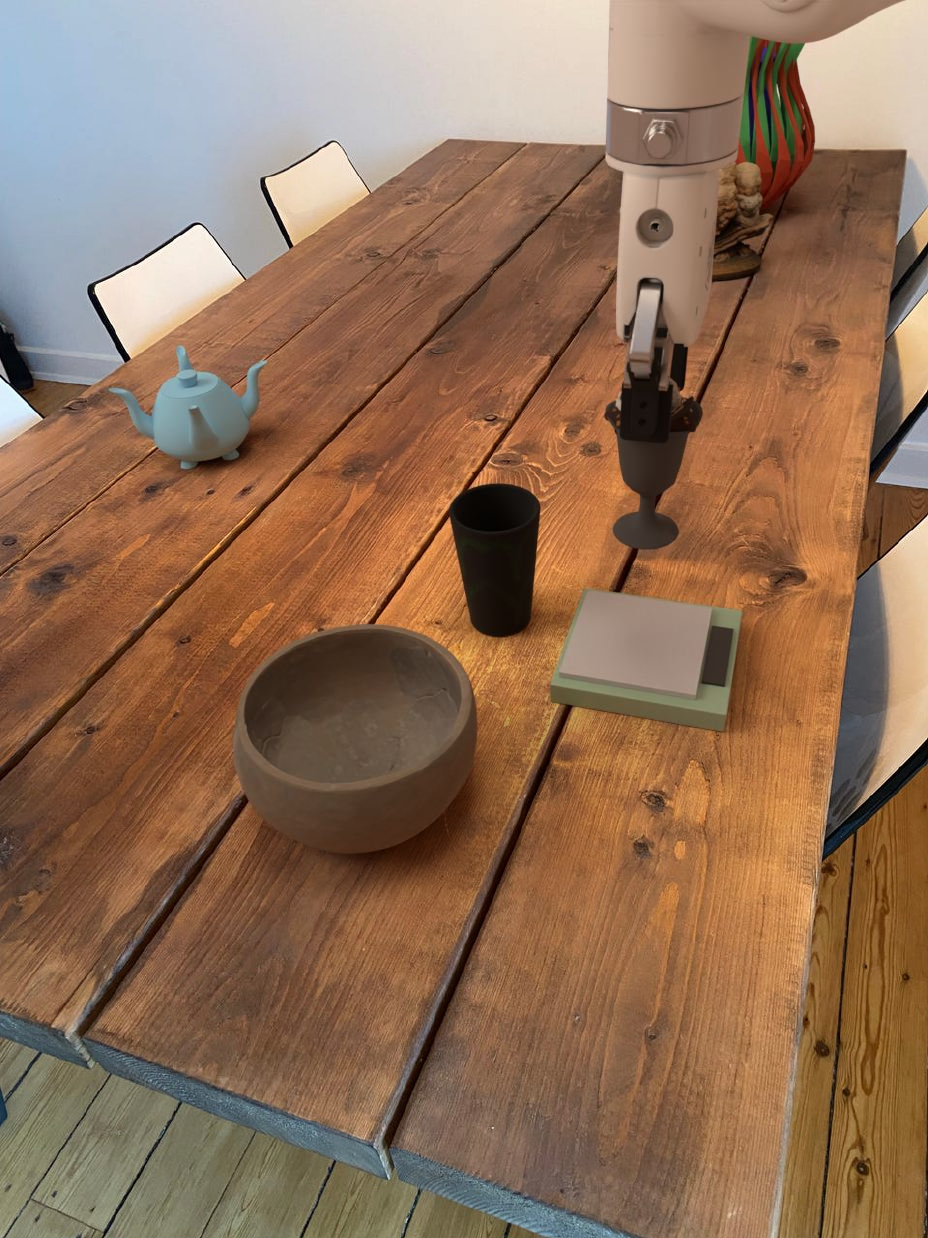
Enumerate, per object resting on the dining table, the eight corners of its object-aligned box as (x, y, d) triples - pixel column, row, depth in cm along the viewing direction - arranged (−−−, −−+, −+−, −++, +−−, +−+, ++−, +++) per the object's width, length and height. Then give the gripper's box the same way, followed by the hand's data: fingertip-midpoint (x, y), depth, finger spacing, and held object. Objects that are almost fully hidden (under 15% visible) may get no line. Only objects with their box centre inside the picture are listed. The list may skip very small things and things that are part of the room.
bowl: (476, 699, 79) (468, 606, 72) (490, 880, 65) (482, 786, 59) (270, 715, 79) (244, 624, 73) (241, 900, 65) (206, 808, 59)
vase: (789, 180, 179) (816, -9, 160) (819, 233, 156) (855, 20, 137) (627, 186, 183) (635, 2, 163) (633, 240, 160) (643, 33, 140)
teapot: (131, 465, 113) (104, 387, 106) (203, 415, 121) (182, 340, 115) (215, 487, 108) (192, 407, 101) (284, 433, 116) (267, 355, 110)
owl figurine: (758, 251, 152) (773, 135, 141) (774, 278, 143) (791, 157, 132) (645, 257, 153) (651, 143, 142) (653, 285, 144) (661, 165, 133)
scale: (740, 627, 83) (743, 604, 82) (724, 732, 74) (727, 709, 73) (583, 604, 87) (584, 582, 86) (550, 701, 78) (549, 679, 76)
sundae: (597, 508, 75) (602, 325, 65) (683, 505, 74) (701, 320, 65) (603, 558, 70) (609, 368, 60) (695, 555, 69) (717, 363, 60)
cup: (550, 596, 89) (549, 487, 81) (531, 650, 83) (528, 538, 75) (471, 586, 90) (463, 478, 83) (448, 638, 85) (436, 527, 77)
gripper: (723, 176, 47) (691, 485, 58) (753, 94, 59) (722, 362, 71) (574, 173, 49) (572, 472, 60) (633, 95, 61) (622, 355, 73)
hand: (653, 410), depth 65 cm, fingers closed on sundae, 6 cm apart
